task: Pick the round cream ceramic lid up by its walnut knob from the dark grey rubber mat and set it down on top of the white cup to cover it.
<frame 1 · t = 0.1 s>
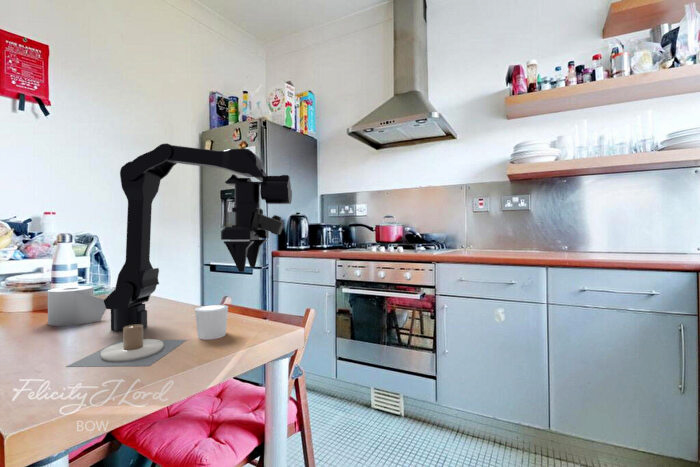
hand: (247, 269, 81), 15 cm above the table, fingers open, 9 cm apart
mat: (133, 355, 65), on the table
white cup: (211, 339, 75), on the table
lid: (133, 351, 65), point 1 cm above the table, touching mat
toilet tissue: (76, 321, 90), on the table
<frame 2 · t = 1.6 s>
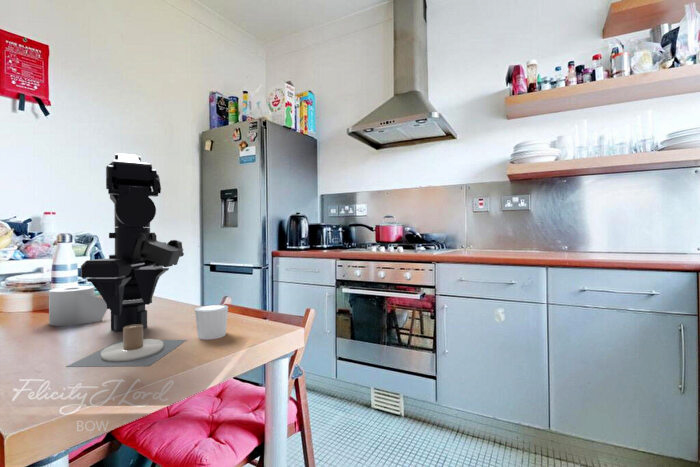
hand: (133, 309, 65), 9 cm above the table, fingers open, 9 cm apart
nothing on the table moved.
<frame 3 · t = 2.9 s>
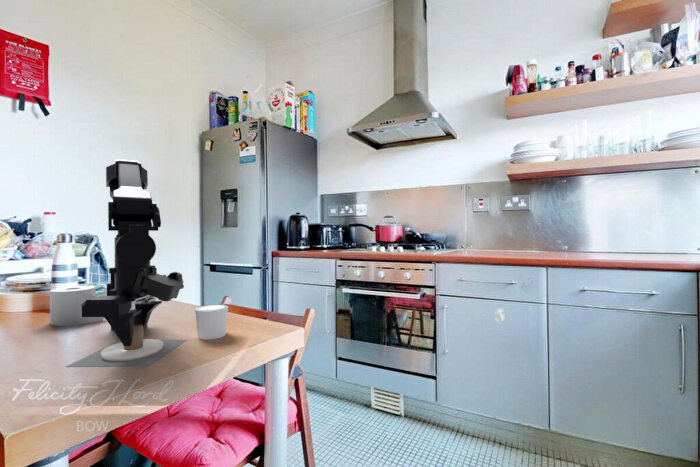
hand: (133, 343, 65), 2 cm above the table, fingers closed on lid, 3 cm apart
lid: (133, 351, 65), point 1 cm above the table, touching gripper, mat
everything else where it was.
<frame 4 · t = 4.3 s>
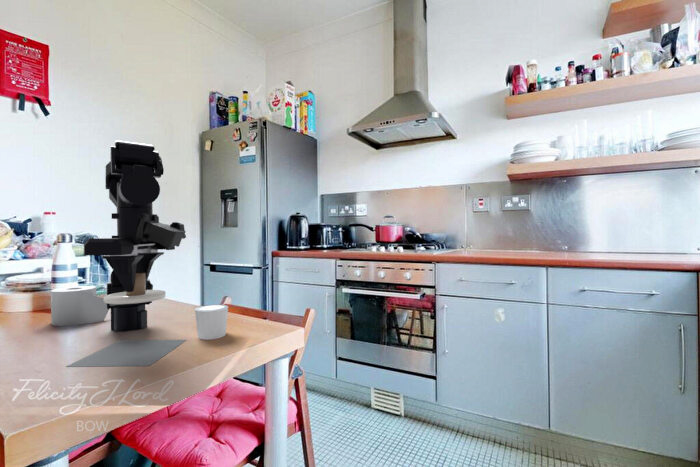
hand: (135, 290, 65), 12 cm above the table, fingers closed on lid, 3 cm apart
lid: (135, 298, 65), point 11 cm above the table, touching gripper
everything else where it was.
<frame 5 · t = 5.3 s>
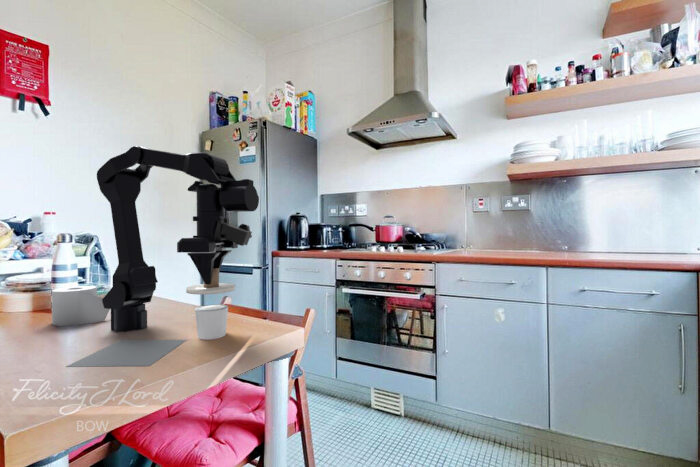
hand: (211, 283, 75), 12 cm above the table, fingers closed on lid, 3 cm apart
lid: (211, 290, 75), point 11 cm above the table, touching gripper
when the fingers open (10 cm above the table, at t = 6.0 s): lid drops 1 cm, resting on white cup.
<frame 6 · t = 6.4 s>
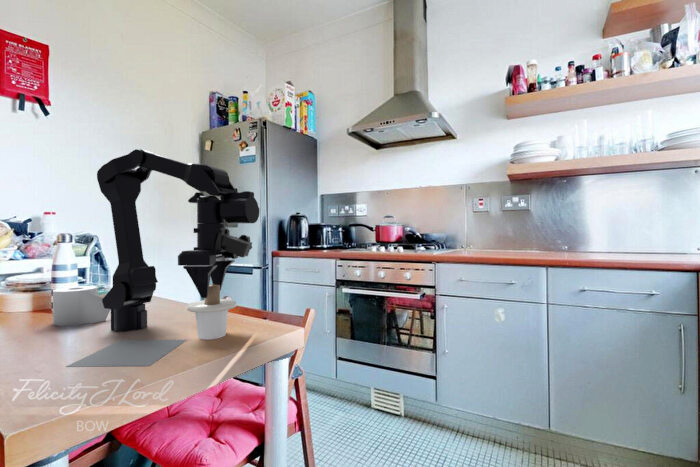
hand: (211, 294, 75), 10 cm above the table, fingers open, 7 cm apart
white cup: (212, 339, 75), on the table, touching lid
lid: (212, 307, 75), point 7 cm above the table, touching white cup
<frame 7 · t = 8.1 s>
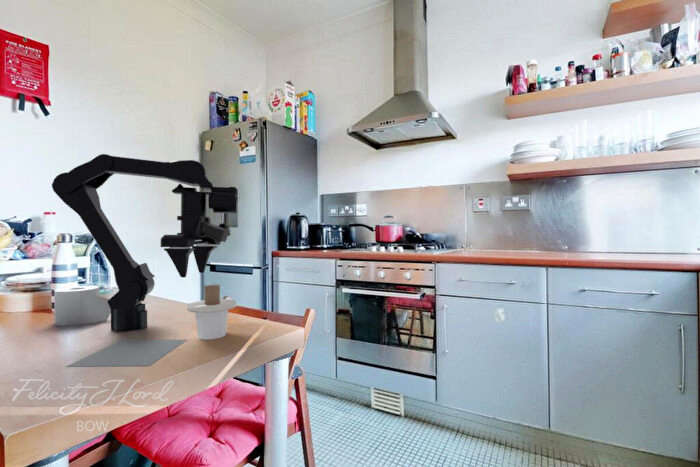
hand: (193, 274, 85), 13 cm above the table, fingers open, 9 cm apart
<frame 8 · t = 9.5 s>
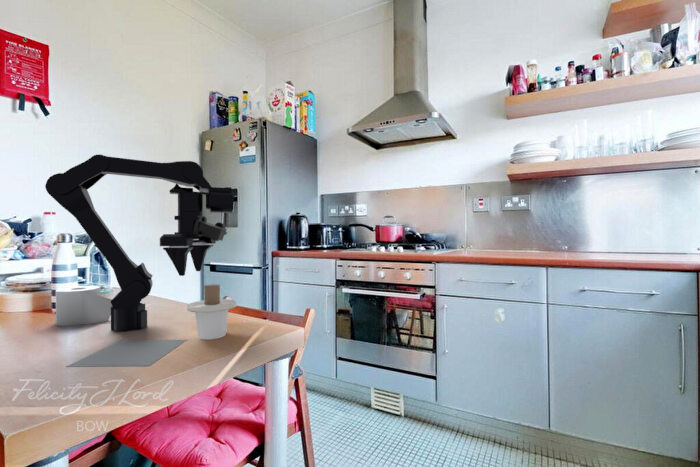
hand: (190, 273, 87), 13 cm above the table, fingers open, 9 cm apart
at the end: lid 0.1 cm off-centre on the white cup, point 7.2 cm above the white cup's base; white cup tilted 0°; the gripper is holding nothing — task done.
